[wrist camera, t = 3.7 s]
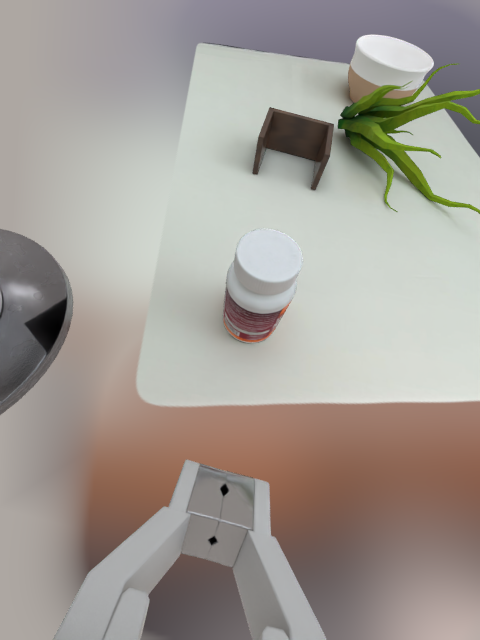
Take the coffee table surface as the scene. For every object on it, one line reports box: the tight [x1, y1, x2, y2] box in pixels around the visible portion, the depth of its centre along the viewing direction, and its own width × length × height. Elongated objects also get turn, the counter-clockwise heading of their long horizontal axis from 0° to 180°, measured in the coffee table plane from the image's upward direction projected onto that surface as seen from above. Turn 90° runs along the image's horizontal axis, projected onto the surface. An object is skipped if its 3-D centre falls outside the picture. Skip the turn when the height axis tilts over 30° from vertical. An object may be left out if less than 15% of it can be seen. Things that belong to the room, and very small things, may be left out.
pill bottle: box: [223, 229, 303, 343], centre depth 23 cm, size 6×6×11 cm
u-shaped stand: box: [253, 107, 334, 190], centre depth 39 cm, size 11×9×6 cm
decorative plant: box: [338, 64, 480, 214], centre depth 37 cm, size 18×30×15 cm, turn 7°
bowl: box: [348, 35, 434, 103], centre depth 53 cm, size 16×16×8 cm
